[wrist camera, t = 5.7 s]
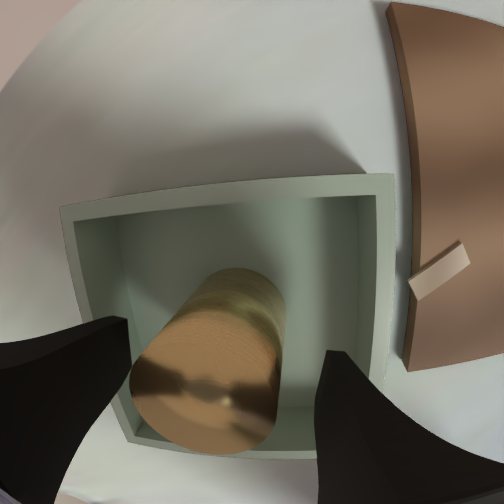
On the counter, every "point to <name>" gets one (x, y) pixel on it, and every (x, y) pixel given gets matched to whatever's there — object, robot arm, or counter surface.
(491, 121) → the crank base
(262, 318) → the pin
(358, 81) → the counter surface
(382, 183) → the tray
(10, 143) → the counter surface
